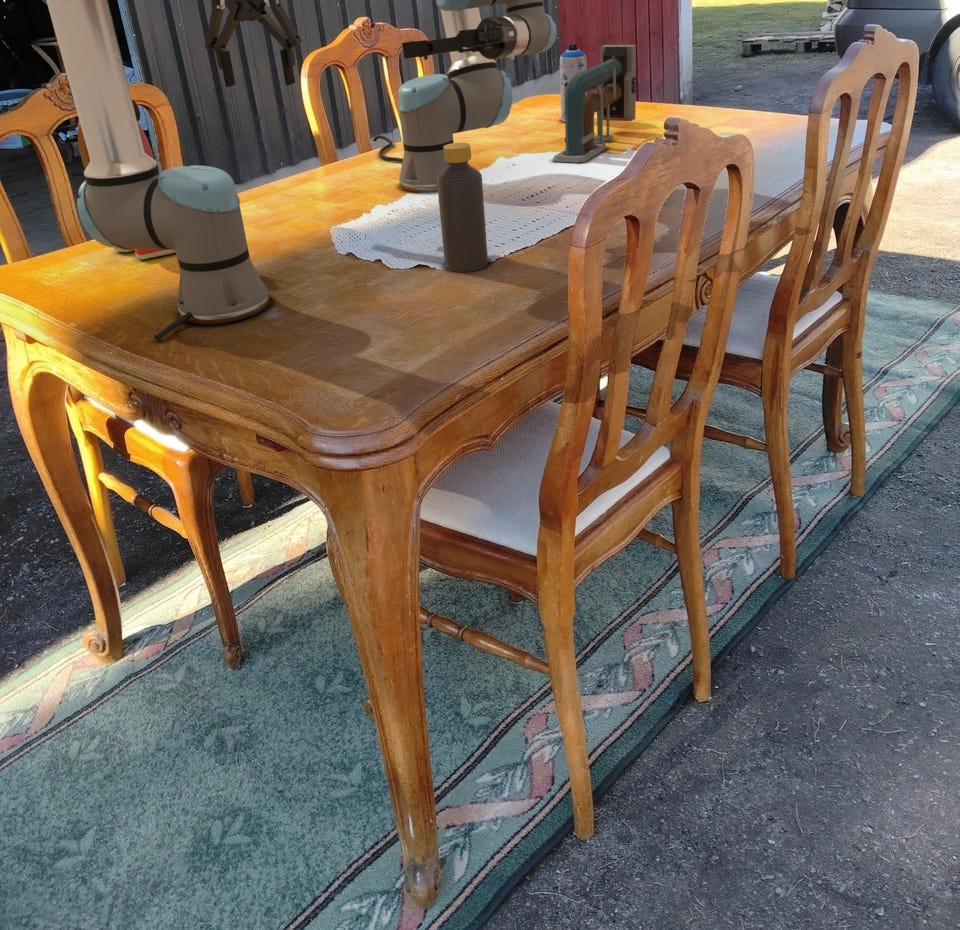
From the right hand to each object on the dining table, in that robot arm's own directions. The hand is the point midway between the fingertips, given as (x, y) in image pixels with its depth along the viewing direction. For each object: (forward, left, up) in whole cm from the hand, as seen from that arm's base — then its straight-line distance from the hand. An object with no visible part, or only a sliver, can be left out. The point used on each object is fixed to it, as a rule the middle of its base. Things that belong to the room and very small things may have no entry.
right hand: (432, 44), depth 175 cm
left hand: (-24, -33, -7) cm, 42 cm away
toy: (-14, -61, -35) cm, 72 cm away
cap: (+19, +1, -14) cm, 24 cm away
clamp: (-61, +45, -35) cm, 83 cm away
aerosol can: (-95, +48, -35) cm, 112 cm away
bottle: (+19, +1, -35) cm, 40 cm away
